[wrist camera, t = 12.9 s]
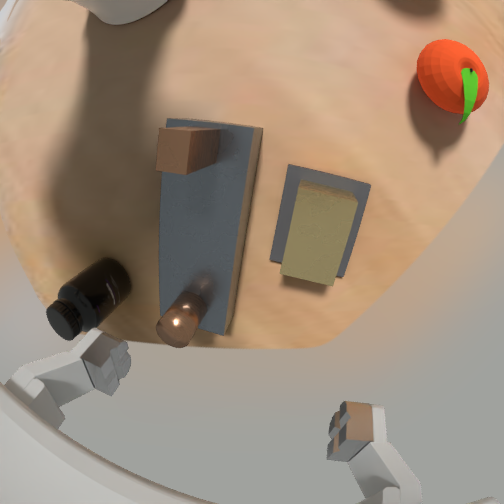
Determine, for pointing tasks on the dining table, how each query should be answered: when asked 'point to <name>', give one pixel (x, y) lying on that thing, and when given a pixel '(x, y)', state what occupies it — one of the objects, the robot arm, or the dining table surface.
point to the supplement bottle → (89, 298)
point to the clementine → (453, 77)
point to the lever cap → (318, 232)
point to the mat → (288, 203)
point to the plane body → (202, 222)
